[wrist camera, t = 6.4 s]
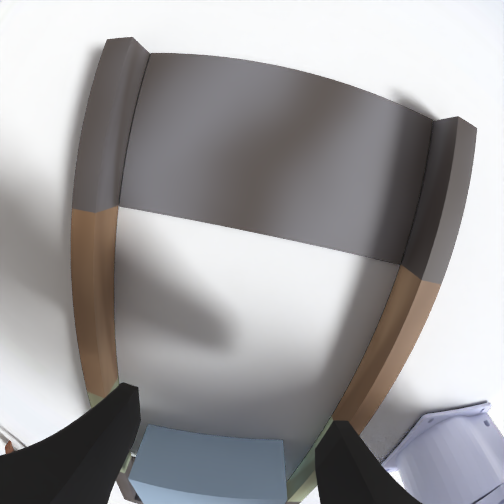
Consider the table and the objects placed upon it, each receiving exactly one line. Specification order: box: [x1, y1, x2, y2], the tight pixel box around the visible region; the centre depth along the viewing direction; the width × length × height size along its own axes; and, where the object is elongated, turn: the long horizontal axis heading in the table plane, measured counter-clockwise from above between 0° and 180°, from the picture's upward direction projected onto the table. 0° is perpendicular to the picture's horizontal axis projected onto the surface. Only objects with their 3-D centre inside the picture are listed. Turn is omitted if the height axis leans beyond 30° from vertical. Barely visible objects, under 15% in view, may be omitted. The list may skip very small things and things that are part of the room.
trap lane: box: [71, 37, 477, 504], centre depth 14 cm, size 15×35×2 cm, turn 168°
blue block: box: [128, 424, 287, 504], centre depth 14 cm, size 9×6×5 cm, turn 85°
